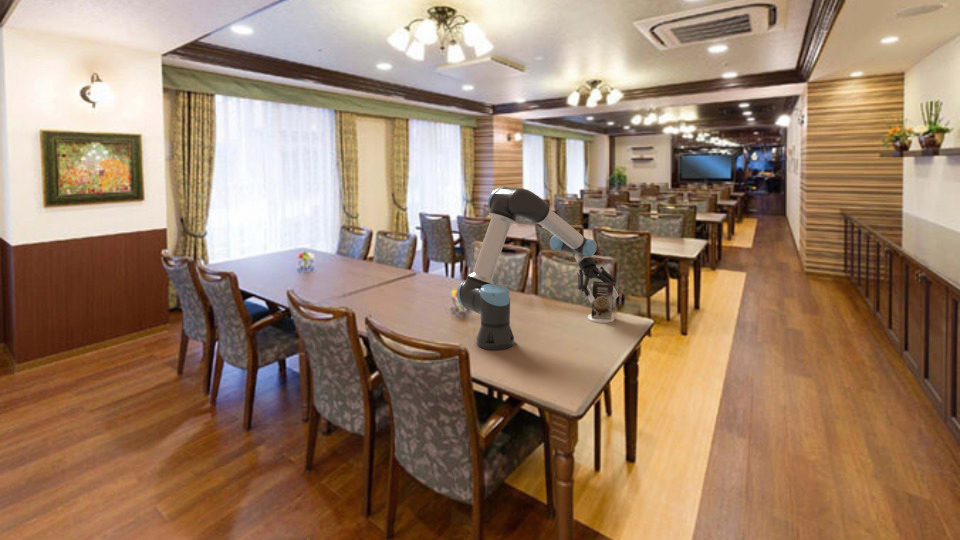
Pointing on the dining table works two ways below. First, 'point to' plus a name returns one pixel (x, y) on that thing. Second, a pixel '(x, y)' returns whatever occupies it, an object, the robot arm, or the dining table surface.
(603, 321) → the plate
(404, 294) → the dining table surface
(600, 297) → the coffee box
